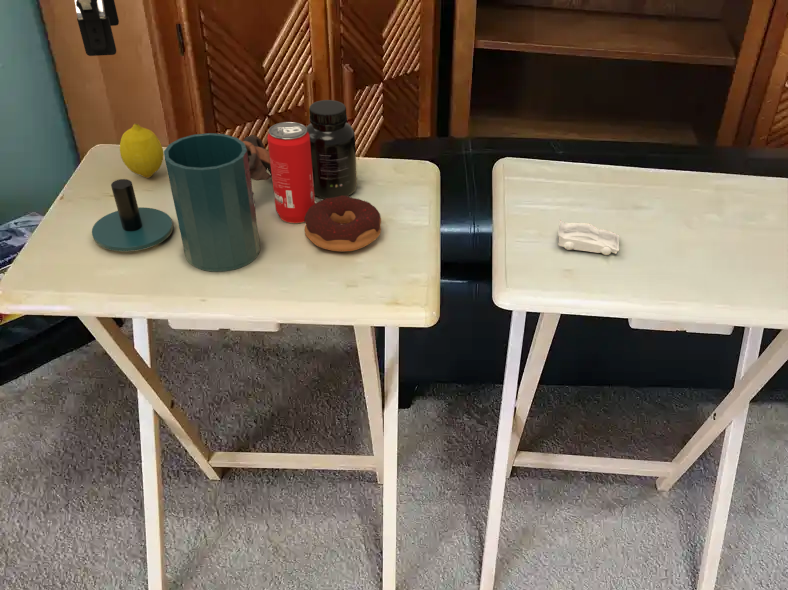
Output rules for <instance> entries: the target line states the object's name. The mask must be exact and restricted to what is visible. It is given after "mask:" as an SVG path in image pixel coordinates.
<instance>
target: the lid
mask: <svg viewBox="0 0 788 590" xmlns="http://www.w3.org/2000/svg"><path fill="white" fill-rule="evenodd" d="M110 186H111V190H112V194H113V198H114V201H115V207H116V210H115V211H112V212H110V213H107V214H106V215H104V216H102V217H101V218H100V219H98V220H97V221H96V222H95V223H94V225H93V226H92V229H91V235H92V238H93V241H94V242H95V243H96V244H97V245H99V247H101V248H102V249H103V248H104V249H105V250H110V251H114V252H136V251H142V250H147V249H149V248H152V247H154V246H156V245H159V244H161V243H163V242H164V241H165V240H167V239H168V238H169V237H170V235H171V234H172V232H173V231H174V224H173V220H172V218H171V217H170V215H169V214H167V213H166V212H165V211H163V210H160V209H157V208H153V207H142V206H141V207H139V206H138V202H137V197H136V193H135V189H134V184H133V182H132V180H130V179H127V178H120V179H115V180H113V181H112V182H111V185H110Z"/></svg>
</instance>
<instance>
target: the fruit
mask: <svg viewBox="0 0 788 590" xmlns="http://www.w3.org/2000/svg"><path fill="white" fill-rule="evenodd" d="M120 138H121V139H120V143H119V154H120V158H121V160H122V162H123V163H124V165H125V166H126V167H127V168H128V169H129V171H131V172H132V173H134V174H136V175H140V176H142V177H144V178H151V177H152V176H153V175H154V174H155V173H157V171H159V169H160V168H161V166H162V165H163V161H164V149H163V146H162V143H161V141H160V139H159V138H158V136H157V134H155V133H154V132H153V131H152V130H151V129H148V128H146V127H143V126H141V125H140V124H139V123H136V122H134V124H133V125H132V127H131V128H128V129H127V130H126V131H124V133H123V134H122V136H121V137H120Z"/></svg>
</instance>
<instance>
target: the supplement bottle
mask: <svg viewBox="0 0 788 590" xmlns="http://www.w3.org/2000/svg"><path fill="white" fill-rule="evenodd" d="M308 107H309V108H308V111H309V113H308V114H309V124H308V125H306V126H305V127H306V128H307V132H308V133H309V136H310V147H311V159H312V172H313V184H314V196H316V197H318V198H321V199H327V198H334V197H339V196H348V197H350V195H352V194H353V193H355V191H356V189H357V187H358V175H357V174H358V173H357V155H356V154H357V152H356V151H357V150H356V134H355V130H354V128H353V126H352V125H351V123H349V122H348V114H347V106H346V105H345V103H343V102H340V101H338V100H335V99H334V100H332V99H322V100H318V101H314V102H313V103H311V104H310V105H309V106H308Z"/></svg>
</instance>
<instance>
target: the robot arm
mask: <svg viewBox="0 0 788 590" xmlns="http://www.w3.org/2000/svg"><path fill="white" fill-rule="evenodd" d="M74 4H75V12H76V20H77V24H78V27H79V32H80V35H81V40H82V44H83V48H84V51H85V54H86V55H87V56H89V57H97V56H114V55H116V54H117V47H116V43H115V39H114V38H115V37H114V34H113V30H112V27H115V26H118V25H119V24H120V20H119V15H118V12H117V11H118V10H117V6H116V2H115V0H74Z"/></svg>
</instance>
